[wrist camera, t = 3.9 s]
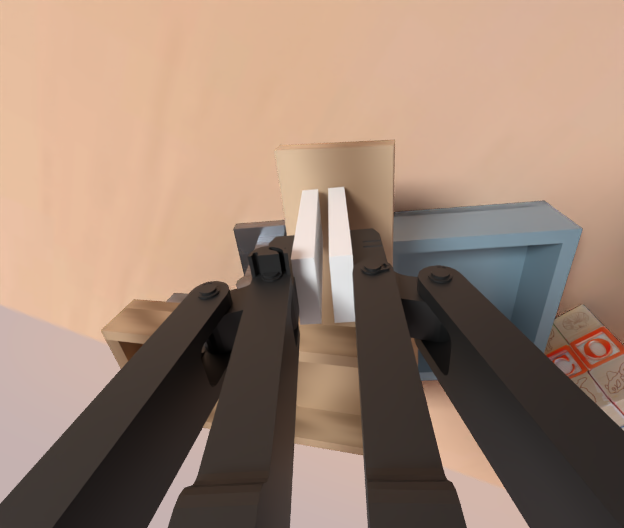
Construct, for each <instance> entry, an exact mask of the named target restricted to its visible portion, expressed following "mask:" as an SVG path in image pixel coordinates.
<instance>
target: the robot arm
mask: <svg viewBox="0 0 624 528" xmlns="http://www.w3.org/2000/svg"><path fill="white" fill-rule="evenodd" d="M328 219H329V264H330V275H331V286H332V298H333V309H334V320H335V323H341V322H355V326H356V346H357V359H358V375H359V391H360V407H361V423H362V439H363V455H364V470H365V487H366V503H367V519H368V528H467V527H466V523H465V520H464V516H463V512H462V508H461V504H460V501H459V498H458V495H457V492H456V489H455V487H454V485H453V483H452V482H450V481H448V480H447V478H446V476H445V474H444V470H443V466H442V462H441V458H440V454H439V450H438V446H437V442H436V438H435V434H434V430H433V426H432V422H431V418H430V414H429V410H428V406H427V402H426V398H425V394H424V390H423V386H422V382H421V378H420V374H419V370H418V366H417V362H416V358H415V354H414V350H413V346H412V342H411V338H414V341H415V344H416V346H417V347H418V349H419V351H420V352H421V354H422V355H423V357H424V359H425V360H426V362H427V363H428V365H429V367H430V368H431V370H432V371H433V373H434V375H435V376H436V378H437V379H438V381H439V383H440V384H441V386H442V387H443V389H444V391H445V392H446V394H447V396H448V397H449V399H450V400H451V402H452V404H453V405H454V407H455V408H456V410H457V412H458V413H459V415H460V416H461V418H462V420H463V421H464V423H465V424H466V426H467V428H468V429H469V431H470V432H471V434H472V436H473V437H474V439H475V441H476V442H477V444H478V445H479V447H480V449H481V450H482V452H483V453H484V455H485V457H486V458H487V460H488V461H489V463H490V465H491V466H492V468H493V469H494V471H495V473H496V474H497V476H498V478H499V479H500V481H501V482H502V484H503V486H504V487H505V489H506V490H507V492H508V493H509V495H510V497H511V498H512V500H513V501H514V503H515V505H516V506H517V508H518V510H519V511H520V513H521V514H522V516H523V518H524V519H525V521H526V522H527V524H528V526H529V527H530V528H624V430H623V429H622V428H621V427H620V426H619V425H618V424H617V423H615V422H614V421H613V420H612V419H611V418H610V417H609V416H608V415H607V414H606V413H605V412H604V411H603V410H602V409H601V408H600V407H599V406H598V405H597V404H596V403H595V402H594V401H593V400H592V399H591V398H590V397H589V396H587V395H586V394H585V393H584V392H583V391H582V390H581V389H580V388H579V387H578V386H577V385H576V384H575V383H574V382H573V381H572V380H571V379H570V378H569V377H568V376H567V375H566V374H565V373H564V372H563V371H562V370H561V369H559V368H558V367H557V366H556V365H555V364H554V363H553V362H552V361H551V360H550V359H549V358H548V357H547V356H546V355H545V354H544V353H543V352H542V351H541V350H540V349H539V348H538V347H537V346H536V345H535V344H534V343H533V342H532V341H530V340H529V339H528V338H527V337H526V336H525V335H524V334H523V333H522V332H521V331H520V330H519V329H518V328H517V327H516V326H515V325H514V324H513V323H512V322H511V321H510V320H509V319H508V318H507V317H506V316H505V315H504V314H502V313H501V312H500V311H499V310H498V309H497V308H496V307H495V306H494V305H493V304H492V303H491V302H490V301H489V300H488V299H487V298H486V297H485V296H484V295H483V294H482V293H481V292H480V291H479V290H478V289H477V288H476V287H474V286H473V285H472V284H471V283H470V282H469V281H468V280H467V279H466V278H465V277H464V276H463V275H462V274H461V273H460V272H458V271H457V270H455V269H453V268H450V267H447V266H441V265H436V266H429V267H426V268H423V269H422V270H421V271H419V274H418V277H413V276H406V275H402V274H399V273H397V272H395V271H394V269H393V267H392V265H391V264H390V263H388V262H387V258H386V255H385V251H384V247H383V244H382V241H381V237H380V233H378V232H377V231H376V230H374V229H373V228H370V229H357V230H350V229H349V221H348V213H347V205H346V197H345V189H344V187H336V188H328ZM248 261H249V266H250V270H251V275H252V280H251V284H250V285H248V286H245V287H242V288H239V289H235V290H231V291H230V290H229V287H228V285H227V284H226V283H224V282H219V281H214V282H208V283H207V282H206V283H203V284H201V285H199V286H197V287H196V288H194V289H193V290H192V291H191V292H190V293H189V294H188V295H187V296H186V297H185V299H184V300H183V301H182V302H181V303H180V304H179V305H178V306H177V307H176V309H175V310H174V311H173V312H172V313H171V314H170V315H169V316H168V317H167V319H166V320H165V321H164V322H163V323H162V324H161V325H160V326H159V327H158V329H157V330H156V331H155V332H154V333H153V334H152V335H151V336H150V338H149V339H148V340H147V341H146V342H145V343H144V344H143V345H142V346H141V348H140V349H139V350H138V351H137V352H136V353H135V354H134V355H133V356H132V358H131V359H130V360H129V361H128V362H127V363H126V364H125V365H124V366H123V368H122V369H121V370H120V371H119V372H118V373H117V374H116V375H115V377H114V378H113V379H112V380H111V381H110V382H109V383H108V384H107V385H106V387H105V388H104V389H103V390H102V391H101V392H100V393H99V394H98V395H97V397H96V398H95V399H94V400H93V401H92V402H91V403H90V404H89V406H88V407H87V408H86V409H85V410H84V411H83V412H82V413H81V414H80V416H79V417H78V418H77V419H76V420H75V421H74V422H73V424H71V426H70V427H69V428H68V429H67V430H66V431H65V432H64V433H63V434H62V436H61V437H60V438H59V439H58V440H57V441H56V442H55V443H54V445H53V446H52V447H51V448H50V449H49V450H48V451H47V452H46V454H45V455H44V456H43V457H42V458H41V459H40V460H39V461H38V463H36V465H35V466H34V467H33V468H32V469H31V470H30V471H29V472H28V473H27V475H26V476H25V477H24V478H23V479H22V480H21V481H20V483H19V484H18V485H17V486H16V487H15V488H14V489H13V490H12V491H11V492H10V494H9V495H8V496H7V497H6V498H5V499H4V500H3V501H2V502H1V504H0V528H147V527H148V525H149V523H150V521H151V520H152V518H153V516H154V514H155V513H156V511H157V509H158V507H159V505H160V503H161V502H162V500H163V498H164V496H165V494H166V493H167V491H168V489H169V487H170V485H171V484H172V482H173V480H174V478H175V476H176V475H177V473H178V471H179V469H180V467H181V466H182V464H183V462H184V460H185V458H186V457H187V455H188V453H189V451H190V449H191V448H192V446H193V444H194V442H195V440H196V439H197V437H198V435H199V433H200V431H201V430H202V428H203V426H204V424H205V422H206V421H207V419H208V417H209V415H210V413H211V412H212V410H213V408H214V406H215V404H216V403H217V401H218V403H217V407H216V411H215V414H214V418H213V421H212V425H211V429H210V432H209V436H208V440H207V443H206V447H205V451H204V454H203V458H202V461H201V466H200V469H199V472H198V476H197V478H196V481H195V482H194V484H193V485H192V486H189V487H186V488H184V489H183V491H182V492H181V493H180V495H179V497H178V499H177V502H176V504H175V507H174V509H173V513H172V516H171V519H170V522H169V526H168V528H290V514H291V495H292V476H293V457H294V439H295V420H296V401H297V382H298V364H299V345H300V330H299V324H298V322H299V318H300V325H305V324H321V322H322V268H323V235H322V224H321V214H320V203H319V193H318V189H313V190H302V195H301V201H300V207H299V213H298V219H297V225H296V231H295V235H290V236H277V237H275V238H274V239H273V240H272V241H271V242H270V243H269V246H263V247H260V248H257V249H255V250H253V251H252V252H250V254H249V255H248ZM218 399H219V400H218Z"/></svg>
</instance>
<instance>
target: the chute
mask: <svg viewBox="0 0 624 528" xmlns="http://www.w3.org/2000/svg"><path fill="white" fill-rule="evenodd" d="M274 153H275V160H276V167H277V173H278V180H279V186H280V193H281V199H282V206H283V213H284V219H285V226H286V232H287V236H290V235H295V231H296V225H297V219H298V213H299V207H300V201H301V195H302V190H313V189H318V193H319V203H320V214H321V224H322V235H323V268H322V322H321V324H305V325H300V318H299V322H298V324H299V330H300V345H299V364H298V382H297V401H296V420H295V439H294V443H295V444H301V445H306V446H312V447H318V448H324V449H329V450H335V451H341V452H347V453H352V454H358V455H363V439H362V423H361V407H360V391H359V375H358V359H357V346H356V326H355V322H341V323H335V320H334V309H333V298H332V286H331V275H330V264H329V219H328V188H336V187H344V189H345V197H346V205H347V213H348V221H349V229H350V230H357V229H370V228H373V229H374V230H376V231H377V232H378V233H380V237H381V241H382V244H383V247H384V251H385V255H386V258H387V262H388V263H390V264H391V265H392V267H393V223H394V159H395V140H380V141H359V142H338V143H317V144H296V145H280V146H279V147H278V148H277V149H275V150H274ZM187 295H188V294H183V293H174V294H173V295H172V296H171V297H170V298H169V299H168V300H167V301H166V302H162V301H148V300H135V299H134V300H133V301H132V302H131V303H130V304H129V305H127V306H126V307H125V308H124V309H123V310H122V311H121V312H120V313H119V314H118V315H117V316H116V317H115V318H114V319H112V320H111V321H110V322H109V323H108V324H107V325H106V326H105V327H104V328H103V329H102V330H101V332H102V334H103V336H104V338H105V340H106V341H107V343H108V345H109V347H110V349H111V351H112V353H113V355H114V356H115V359H116V360H117V362H118V364H119V366H120V368H121V369H122V368H123V366H124V365H125V364H126V363H127V362H128V361H129V360H130V359H131V358H132V356H133V355H134V354H135V353H136V352H137V351H138V350H139V349H140V348H141V346H142V345H143V344H144V343H145V342H146V341H147V340H148V339H149V338H150V336H151V335H152V334H153V333H154V332H155V331H156V330H157V329H158V327H159V326H160V325H161V324H162V323H163V322H164V321H165V320H166V319H167V317H168V316H169V315H170V314H171V313H172V312H173V311H174V310H175V309H176V307H177V306H178V305H179V304H180V303H181V302H182V301H183V300H184V299H185V297H186V296H187ZM411 342H412V346H413V350H414V354H415V358H416V362H417V366H418V347H417V346H416V344H415V341H414V338H411ZM218 400H219V399H218ZM217 403H218V401H217ZM217 403H216V404H215V406H214V408H213V410H212V412H211V413H210V415H209V417H208V419H207V421H206V422H205V424H204V426H203V428H208V429H211V425H212V421H213V418H214V414H215V411H216V407H217Z"/></svg>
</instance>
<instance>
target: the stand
mask: <svg viewBox="0 0 624 528" xmlns="http://www.w3.org/2000/svg"><path fill="white" fill-rule="evenodd" d="M233 230H234V234H235V238H236V242H237V247H238V251H239V255H240V260H241V264H242V268H243V272H244V277H242V278H241V279H239V280H238V281H237V284H236V286H237V289H239V288H242V287H245V286H248V285H250V284H251V280H252V275H251V270H250V266H249V261H248V255H249V254H250V252H252V251H253V250H255V249H257V248H260V247H263V246H269V243H270V242H271V241H272V240H273V239H274V238H275V237H277V236H287V232H286V226H285V220H281V221H268V222H254V223H241V224H236V225H235V227H234V229H233Z"/></svg>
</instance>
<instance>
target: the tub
mask: <svg viewBox="0 0 624 528" xmlns="http://www.w3.org/2000/svg"><path fill="white" fill-rule="evenodd" d="M581 233H582V228H581V227H580V226H578V225H577V224H576V223H574V222H573V221H572V220H570V219H569V218H567V217H566V216H565V215H563V214H562V213H561V212H559V211H558V210H556V209H555V208H554V207H552V206H551V205H550V204H548V203H547V202H545V201H534V202H520V203H507V204H494V205H480V206H467V207H454V208H441V209H427V210H414V211H401V212H394V223H393V269H394V271H395V272H397V273H399V274H402V275H406V276H413V277H418V274H419V271H421V270H422V269H423V268H426V267H429V266H436V265H441V266H447V267H450V268H453V269H455V270H457V271H458V272H460V273H461V274H462V275H463V276H464V277H465V278H466V279H467V280H468V281H469V282H470V283H471V284H472V285H473V286H474V287H476V288H477V289H478V290H479V291H480V292H481V293H482V294H483V295H484V296H485V297H486V298H487V299H488V300H489V301H490V302H491V303H492V304H493V305H494V306H495V307H496V308H497V309H498V310H499V311H500V312H501V313H502V314H504V315H505V316H506V317H507V318H508V319H509V320H510V321H511V322H512V323H513V324H514V325H515V326H516V327H517V328H518V329H519V330H520V331H521V332H522V333H523V334H524V335H525V336H526V337H527V338H528V339H529V340H530V341H532V342H533V343H534V344H535V345H536V346H537V347H538V348H539V349H540V350H541V351H542V352H543V353H544V352H545V348H546V345H547V342H548V339H549V335H550V332H551V329H552V326H553V323H554V319H555V316H556V313H557V310H558V307H559V303H560V300H561V297H562V294H563V290H564V287H565V284H566V281H567V278H568V274H569V271H570V268H571V265H572V262H573V258H574V255H575V252H576V249H577V245H578V242H579V239H580V236H581ZM418 370H419V374H420V378H421V381H424V380H438V379H437V378H436V376H435V375H434V373H433V371H432V370H431V368H430V367H429V365H428V363H427V362H426V360H425V359H424V357H423V355H422V354H421V352H420V351H419V349H418Z"/></svg>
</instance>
